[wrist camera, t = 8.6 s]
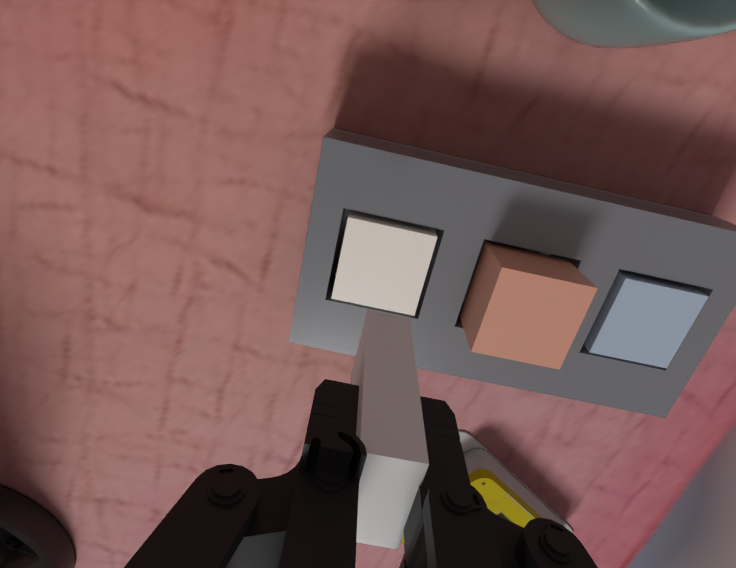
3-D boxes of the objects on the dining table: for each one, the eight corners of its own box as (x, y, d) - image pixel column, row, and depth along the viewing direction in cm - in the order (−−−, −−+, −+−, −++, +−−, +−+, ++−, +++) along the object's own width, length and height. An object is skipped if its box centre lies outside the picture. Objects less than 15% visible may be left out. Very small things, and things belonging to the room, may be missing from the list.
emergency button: (496, 632, 36) (365, 533, 32) (484, 576, 40) (367, 483, 36) (599, 582, 33) (470, 467, 29) (575, 528, 37) (459, 420, 33)
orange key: (459, 316, 25) (471, 351, 21) (485, 241, 23) (501, 267, 20) (536, 332, 25) (559, 369, 22) (567, 259, 23) (597, 288, 20)
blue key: (564, 320, 27) (589, 352, 24) (595, 253, 26) (625, 278, 22) (633, 335, 28) (666, 368, 24) (668, 270, 26) (708, 296, 23)
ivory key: (337, 272, 26) (331, 298, 23) (352, 199, 25) (347, 217, 21) (410, 288, 27) (414, 315, 23) (430, 217, 25) (437, 236, 22)
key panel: (301, 305, 29) (288, 342, 25) (333, 127, 24) (323, 136, 20) (626, 372, 30) (665, 418, 26) (712, 215, 26) (774, 240, 22)
